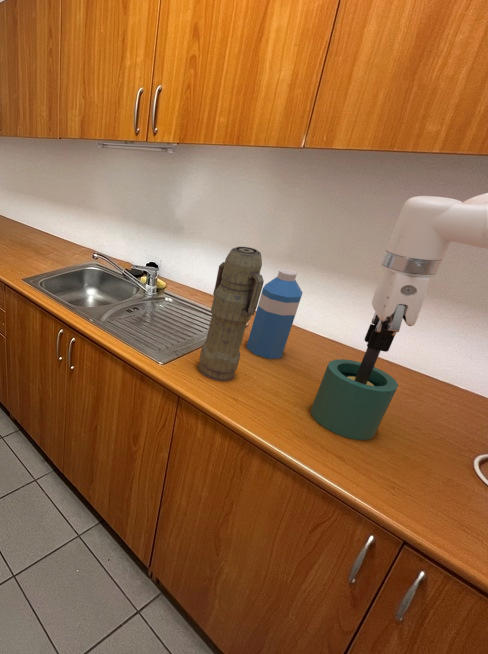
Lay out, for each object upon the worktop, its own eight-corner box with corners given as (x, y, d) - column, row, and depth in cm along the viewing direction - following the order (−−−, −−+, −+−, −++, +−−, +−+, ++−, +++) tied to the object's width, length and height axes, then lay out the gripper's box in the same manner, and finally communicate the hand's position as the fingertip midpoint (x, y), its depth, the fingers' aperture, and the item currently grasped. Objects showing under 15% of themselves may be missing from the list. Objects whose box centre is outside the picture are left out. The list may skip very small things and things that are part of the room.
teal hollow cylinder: (369, 415, 91) (391, 369, 86) (379, 447, 83) (404, 398, 77) (308, 398, 97) (325, 353, 92) (312, 426, 88) (331, 379, 83)
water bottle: (287, 361, 111) (315, 280, 101) (249, 355, 114) (272, 276, 104) (278, 344, 119) (302, 267, 109) (242, 339, 122) (263, 264, 112)
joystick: (368, 392, 87) (398, 320, 80) (372, 405, 83) (405, 331, 76) (339, 384, 90) (366, 314, 83) (342, 396, 86) (370, 324, 79)
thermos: (209, 356, 114) (237, 240, 100) (247, 379, 104) (283, 254, 90) (186, 362, 111) (211, 244, 98) (221, 387, 101) (255, 260, 87)
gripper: (453, 281, 67) (411, 371, 74) (425, 254, 79) (391, 334, 86) (392, 272, 70) (358, 359, 78) (374, 248, 83) (346, 325, 90)
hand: (375, 345), depth 82 cm, fingers closed on joystick
